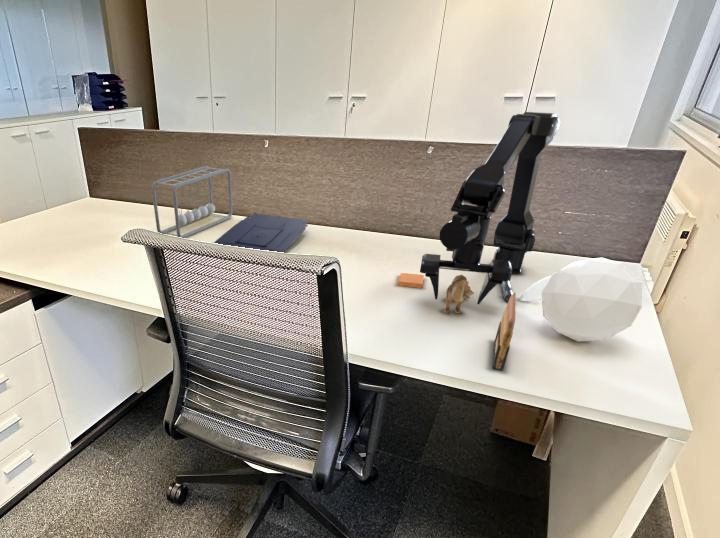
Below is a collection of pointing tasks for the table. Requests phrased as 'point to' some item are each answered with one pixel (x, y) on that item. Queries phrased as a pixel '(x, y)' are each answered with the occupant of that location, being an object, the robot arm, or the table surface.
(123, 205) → the table surface
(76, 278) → the table surface
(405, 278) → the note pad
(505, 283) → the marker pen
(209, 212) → the newton's cradle
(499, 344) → the ammunition clip
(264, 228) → the navy blue flat slab
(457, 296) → the lion figurine
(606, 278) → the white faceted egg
